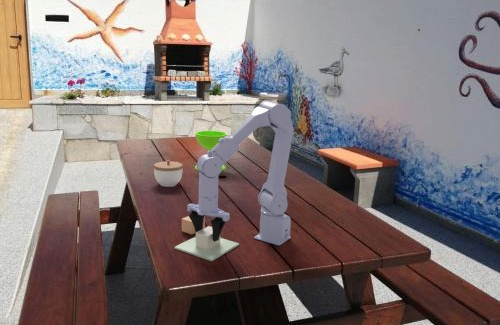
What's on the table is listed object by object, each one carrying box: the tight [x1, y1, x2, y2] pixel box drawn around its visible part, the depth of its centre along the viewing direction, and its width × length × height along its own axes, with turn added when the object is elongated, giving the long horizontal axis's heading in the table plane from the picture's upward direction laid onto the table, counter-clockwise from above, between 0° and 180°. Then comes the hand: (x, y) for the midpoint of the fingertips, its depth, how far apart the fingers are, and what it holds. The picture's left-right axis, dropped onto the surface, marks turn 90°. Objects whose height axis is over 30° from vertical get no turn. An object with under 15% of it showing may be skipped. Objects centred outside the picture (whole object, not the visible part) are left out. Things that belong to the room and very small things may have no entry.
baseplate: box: [174, 236, 240, 262], centre depth 138 cm, size 14×14×1 cm
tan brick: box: [181, 215, 206, 235], centre depth 150 cm, size 4×6×4 cm
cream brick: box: [195, 225, 221, 250], centre depth 137 cm, size 4×6×4 cm
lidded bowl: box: [153, 159, 184, 188], centre depth 199 cm, size 13×13×11 cm
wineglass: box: [194, 130, 228, 172], centre depth 230 cm, size 16×16×18 cm
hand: (207, 237), depth 137 cm, fingers open, 6 cm apart
